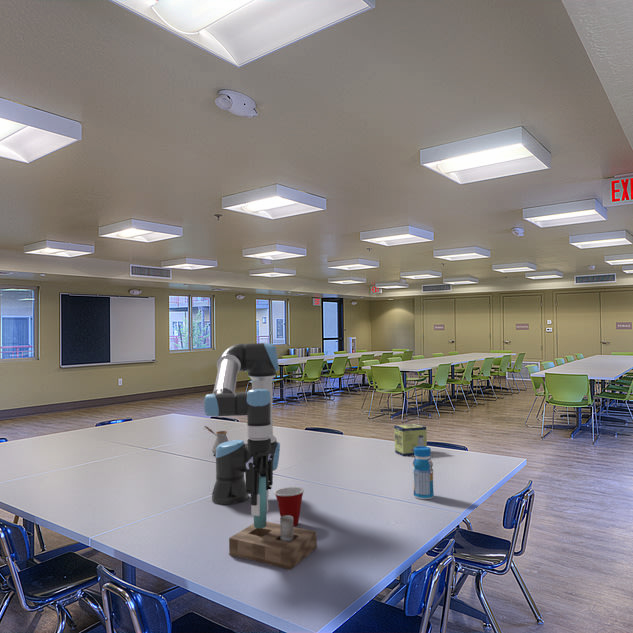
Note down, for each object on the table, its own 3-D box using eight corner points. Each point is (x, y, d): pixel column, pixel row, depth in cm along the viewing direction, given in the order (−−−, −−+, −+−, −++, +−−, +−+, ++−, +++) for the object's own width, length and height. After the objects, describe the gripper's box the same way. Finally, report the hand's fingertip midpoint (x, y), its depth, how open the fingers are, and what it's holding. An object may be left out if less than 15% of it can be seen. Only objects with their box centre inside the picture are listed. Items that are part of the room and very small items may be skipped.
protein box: (394, 452, 274) (393, 425, 275) (418, 450, 278) (417, 423, 279) (403, 456, 264) (402, 428, 265) (427, 454, 268) (426, 426, 269)
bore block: (259, 535, 160) (259, 502, 160) (316, 547, 149) (316, 512, 150) (229, 554, 146) (229, 518, 146) (290, 569, 135) (289, 530, 136)
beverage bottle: (419, 501, 191) (417, 450, 192) (409, 494, 199) (408, 446, 200) (438, 498, 193) (436, 449, 194) (427, 492, 201) (426, 444, 202)
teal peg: (258, 522, 153) (258, 475, 153) (268, 524, 151) (268, 476, 152) (251, 526, 149) (250, 478, 150) (261, 529, 147) (261, 479, 148)
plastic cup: (292, 516, 177) (292, 483, 177) (310, 524, 169) (310, 490, 169) (268, 523, 170) (268, 489, 171) (286, 532, 162) (285, 496, 162)
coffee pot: (235, 453, 277) (235, 427, 278) (220, 457, 268) (220, 430, 269) (212, 449, 291) (212, 424, 291) (197, 452, 282) (196, 427, 282)
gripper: (264, 432, 161) (265, 502, 159) (233, 442, 146) (233, 519, 144) (283, 434, 157) (284, 506, 156) (253, 444, 142) (253, 523, 141)
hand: (260, 512), depth 150 cm, fingers closed on teal peg, 4 cm apart
